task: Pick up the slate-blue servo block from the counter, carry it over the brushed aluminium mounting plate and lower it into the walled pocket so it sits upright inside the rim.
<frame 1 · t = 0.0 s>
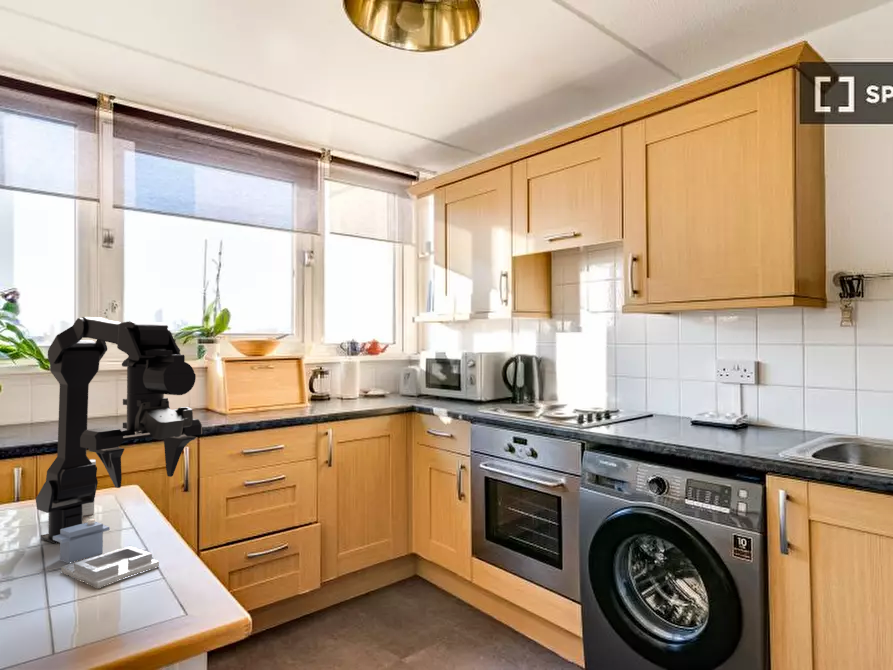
hand: (145, 481, 97), 15 cm above the counter, tool pointing down, fingers open, 9 cm apart
servo: (81, 556, 101), on the counter
mount plate: (110, 569, 95), on the counter
skincare box: (79, 515, 126), on the counter
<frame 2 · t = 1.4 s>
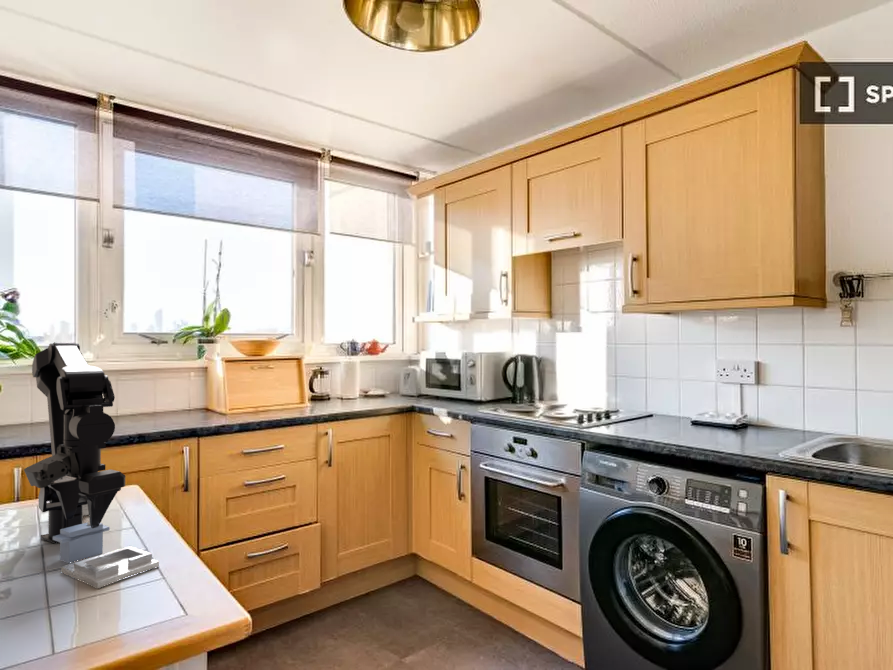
hand: (81, 523, 101), 6 cm above the counter, tool pointing down, fingers open, 9 cm apart
nothing on the counter moved.
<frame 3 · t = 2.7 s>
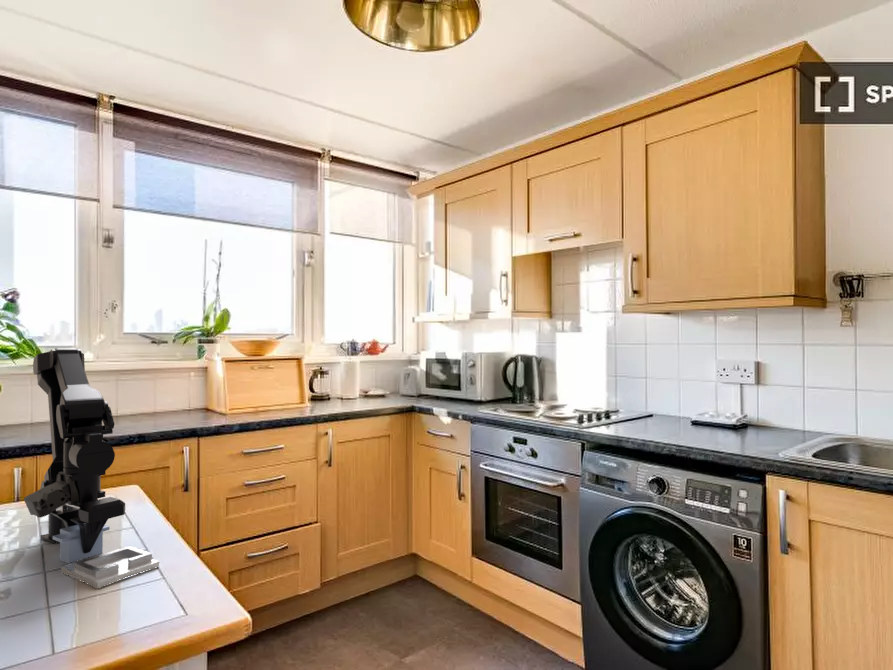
hand: (81, 550, 101), 1 cm above the counter, tool pointing down, fingers closed on servo, 3 cm apart
servo: (81, 556, 101), on the counter, touching gripper
everything else where it was.
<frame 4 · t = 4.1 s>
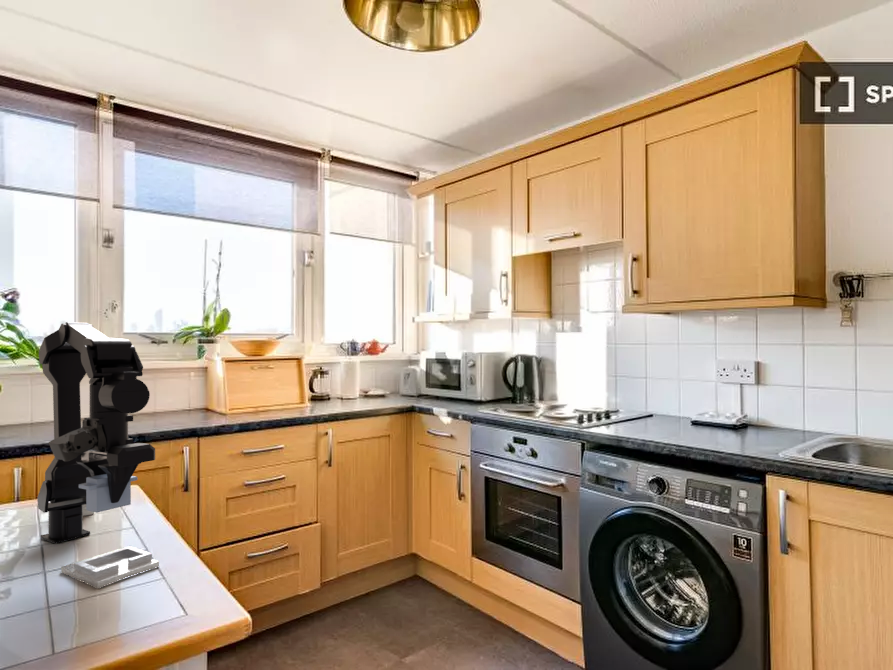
hand: (109, 501, 95), 12 cm above the counter, tool pointing down, fingers closed on servo, 3 cm apart
servo: (108, 507, 95), point 11 cm above the counter, touching gripper
everything else where it was.
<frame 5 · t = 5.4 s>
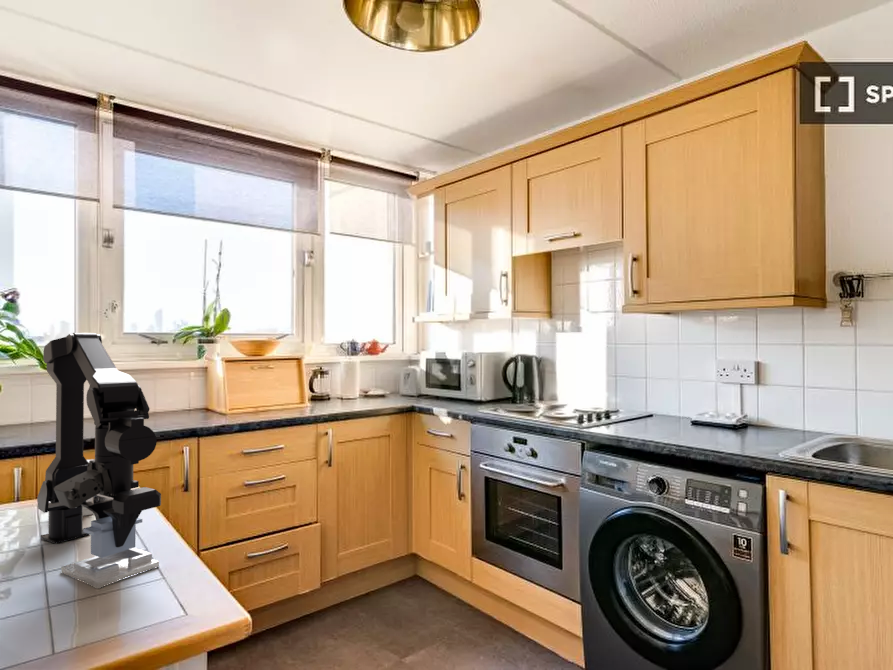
hand: (113, 544, 94), 5 cm above the counter, tool pointing down, fingers closed on servo, 3 cm apart
servo: (113, 550, 94), point 4 cm above the counter, touching gripper
everything else where it was.
when the fingers open (3 cm above the counter, at t = 5.9 s): servo drops 1 cm, resting on mount plate.
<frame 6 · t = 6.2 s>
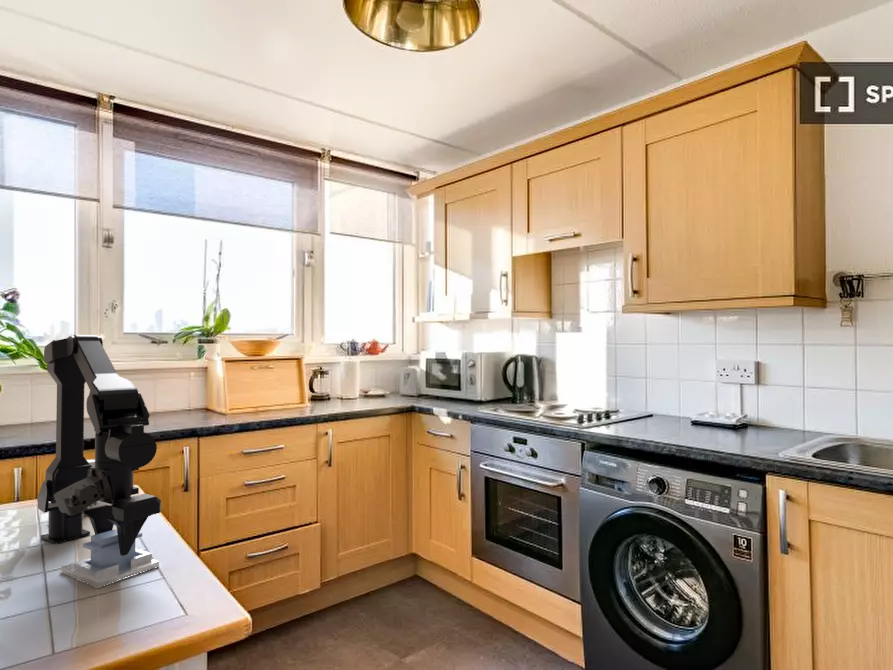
hand: (113, 551, 94), 3 cm above the counter, tool pointing down, fingers open, 6 cm apart
servo: (113, 565, 94), point 1 cm above the counter, touching mount plate
everything else where it was.
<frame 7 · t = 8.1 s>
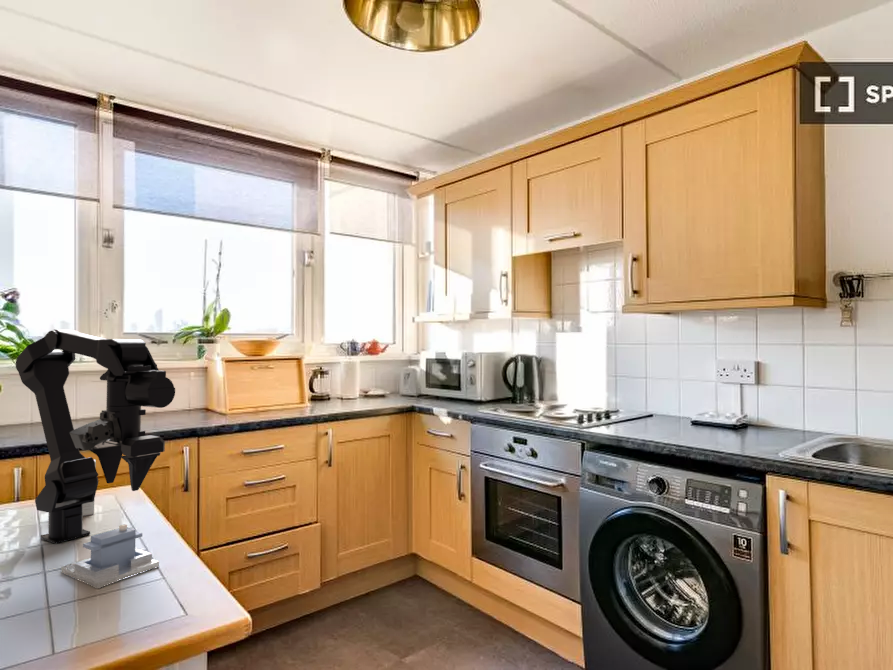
hand: (122, 486, 105), 12 cm above the counter, tool pointing down, fingers open, 9 cm apart
nothing on the counter moved.
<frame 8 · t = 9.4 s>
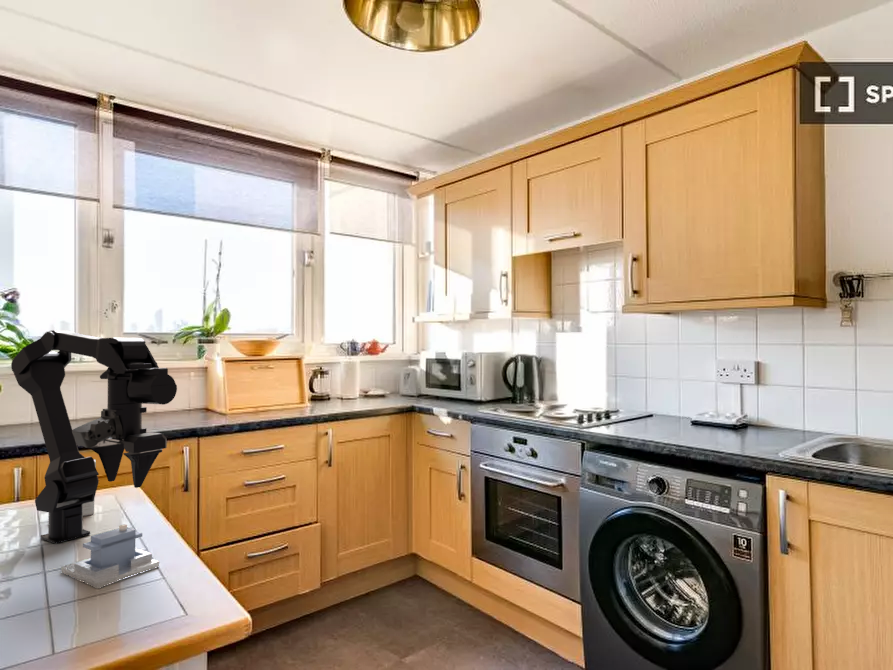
hand: (124, 484, 105), 12 cm above the counter, tool pointing down, fingers open, 9 cm apart
nothing on the counter moved.
at the end: servo 0.1 cm from the target spot on the mount plate, point 1.0 cm above the mount plate's base; servo tilted 0°; the gripper is holding nothing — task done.
